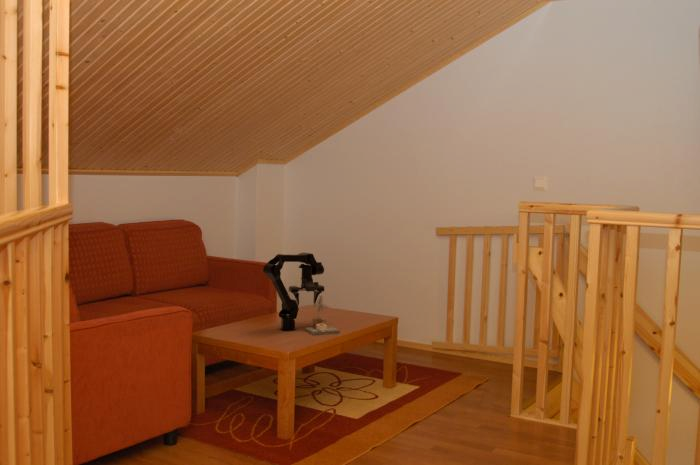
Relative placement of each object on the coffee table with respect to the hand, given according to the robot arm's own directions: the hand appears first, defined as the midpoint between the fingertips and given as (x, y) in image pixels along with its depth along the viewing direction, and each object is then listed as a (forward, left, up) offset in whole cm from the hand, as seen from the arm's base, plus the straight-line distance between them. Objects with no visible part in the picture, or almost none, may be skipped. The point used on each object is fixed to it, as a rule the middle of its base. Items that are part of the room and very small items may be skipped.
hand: (306, 304), depth 425 cm
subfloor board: (+3, -16, -12) cm, 20 cm away
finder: (+2, -18, -10) cm, 21 cm away
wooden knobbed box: (+2, -12, -10) cm, 16 cm away
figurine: (+13, +11, -12) cm, 21 cm away
